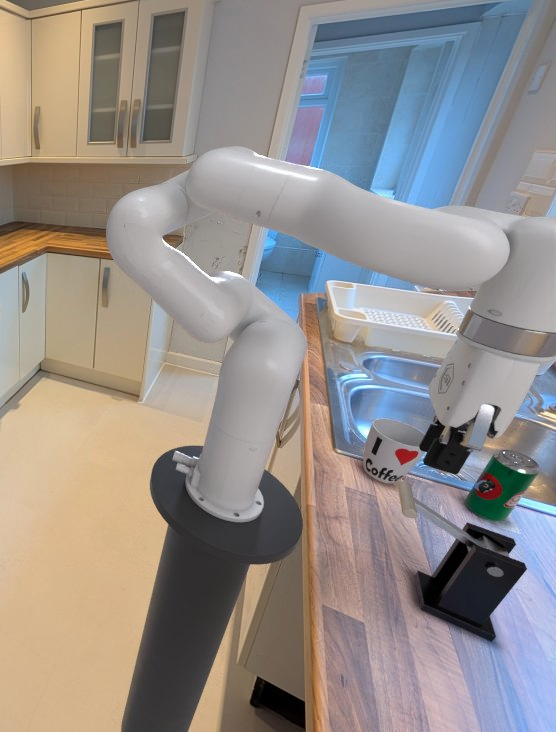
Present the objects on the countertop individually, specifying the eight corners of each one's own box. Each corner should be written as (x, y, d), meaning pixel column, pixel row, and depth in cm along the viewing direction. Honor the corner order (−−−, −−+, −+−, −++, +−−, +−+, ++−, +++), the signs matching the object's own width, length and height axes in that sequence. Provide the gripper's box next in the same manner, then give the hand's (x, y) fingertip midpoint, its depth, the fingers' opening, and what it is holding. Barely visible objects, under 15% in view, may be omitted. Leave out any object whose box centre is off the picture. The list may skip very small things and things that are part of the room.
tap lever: (396, 514, 56) (412, 505, 55) (391, 485, 61) (406, 476, 59) (498, 584, 52) (518, 577, 51) (485, 548, 57) (503, 540, 56)
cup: (349, 471, 82) (367, 430, 78) (359, 452, 87) (377, 412, 83) (403, 497, 76) (427, 454, 72) (411, 474, 81) (433, 433, 77)
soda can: (502, 528, 70) (540, 474, 65) (460, 508, 74) (493, 456, 69) (507, 513, 73) (544, 460, 68) (466, 494, 77) (499, 443, 72)
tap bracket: (420, 609, 59) (462, 547, 53) (414, 575, 63) (452, 514, 58) (492, 642, 55) (545, 578, 50) (480, 603, 60) (527, 541, 54)
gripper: (447, 302, 54) (392, 417, 62) (480, 353, 42) (406, 488, 50) (533, 316, 51) (462, 437, 58) (595, 376, 39) (496, 519, 46)
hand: (437, 460), depth 54 cm, fingers closed
